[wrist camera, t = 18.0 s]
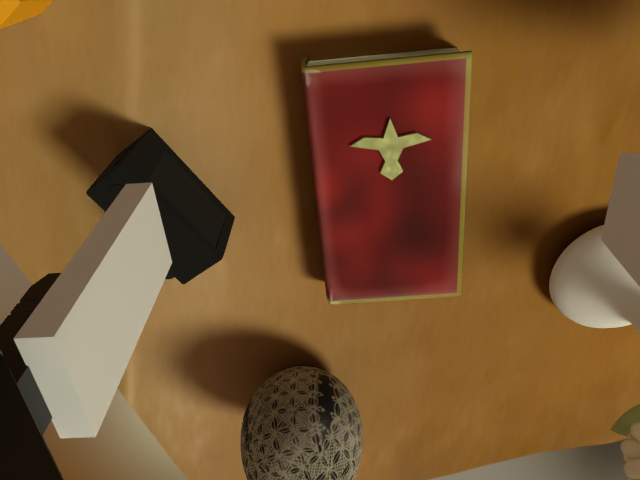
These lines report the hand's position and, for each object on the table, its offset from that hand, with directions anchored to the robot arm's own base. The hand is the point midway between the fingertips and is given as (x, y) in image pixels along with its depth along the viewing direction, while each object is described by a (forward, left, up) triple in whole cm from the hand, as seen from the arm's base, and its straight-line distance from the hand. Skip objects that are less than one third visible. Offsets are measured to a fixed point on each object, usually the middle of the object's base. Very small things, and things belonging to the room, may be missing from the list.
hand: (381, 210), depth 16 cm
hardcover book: (-6, +11, -29) cm, 32 cm away
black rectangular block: (+11, +17, -29) cm, 35 cm away
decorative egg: (-5, +36, -29) cm, 46 cm away
